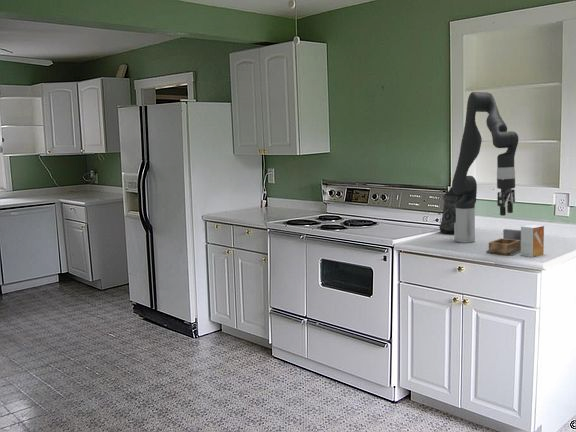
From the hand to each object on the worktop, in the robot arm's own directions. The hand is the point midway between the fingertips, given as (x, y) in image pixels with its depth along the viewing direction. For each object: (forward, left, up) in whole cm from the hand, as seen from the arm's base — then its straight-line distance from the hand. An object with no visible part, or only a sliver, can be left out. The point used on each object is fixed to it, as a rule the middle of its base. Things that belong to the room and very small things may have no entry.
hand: (506, 214), depth 260 cm
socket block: (-4, +6, -19) cm, 20 cm away
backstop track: (-4, +11, -19) cm, 22 cm away
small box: (+8, +7, -19) cm, 22 cm away
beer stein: (-48, +41, -19) cm, 66 cm away
